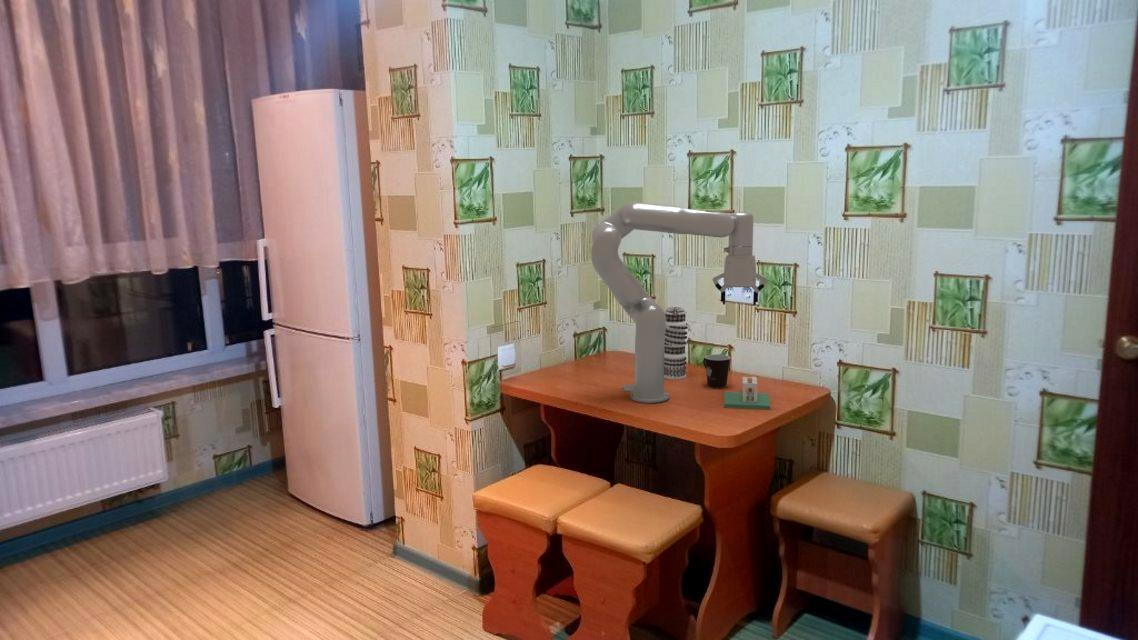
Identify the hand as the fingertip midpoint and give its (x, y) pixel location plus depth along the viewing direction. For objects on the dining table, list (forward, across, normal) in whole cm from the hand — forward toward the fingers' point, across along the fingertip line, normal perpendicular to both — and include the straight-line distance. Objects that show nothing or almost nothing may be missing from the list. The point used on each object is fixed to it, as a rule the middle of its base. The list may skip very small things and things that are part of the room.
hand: (739, 304), depth 253 cm
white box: (+29, +4, -8) cm, 30 cm away
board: (+30, +3, -8) cm, 31 cm away
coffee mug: (+31, -7, +12) cm, 34 cm away
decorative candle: (+31, -22, +21) cm, 43 cm away
